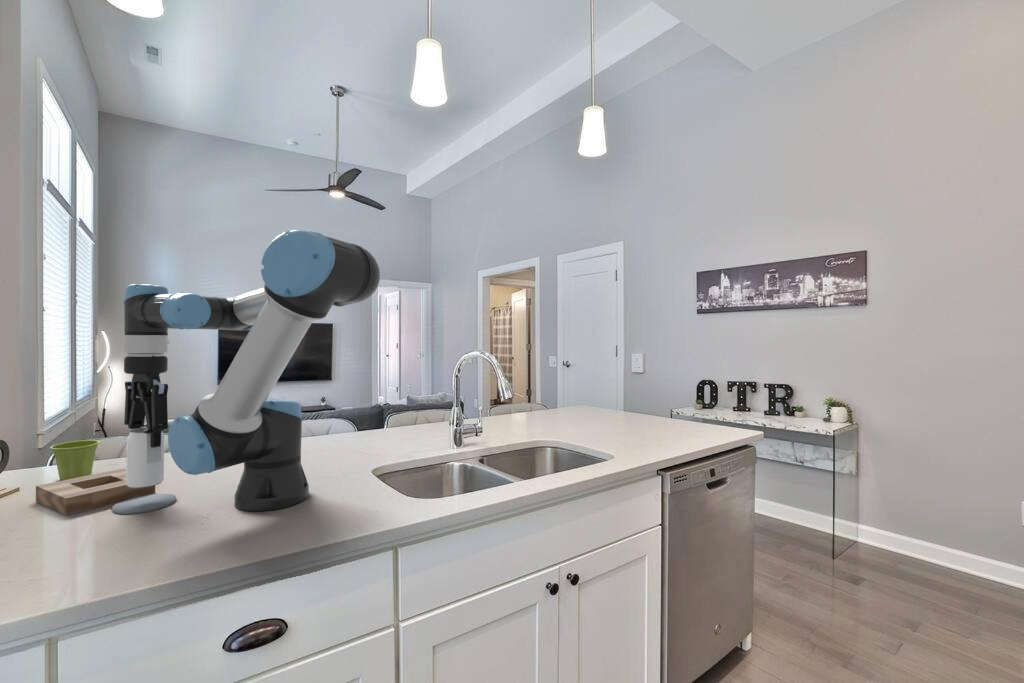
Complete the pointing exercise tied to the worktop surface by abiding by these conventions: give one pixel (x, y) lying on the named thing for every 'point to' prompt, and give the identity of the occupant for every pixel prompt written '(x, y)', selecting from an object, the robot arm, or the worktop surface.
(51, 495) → the pocket block
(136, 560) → the worktop surface
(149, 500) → the slate mat
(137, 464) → the can
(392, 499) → the worktop surface
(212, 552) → the worktop surface
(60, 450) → the plant pot
